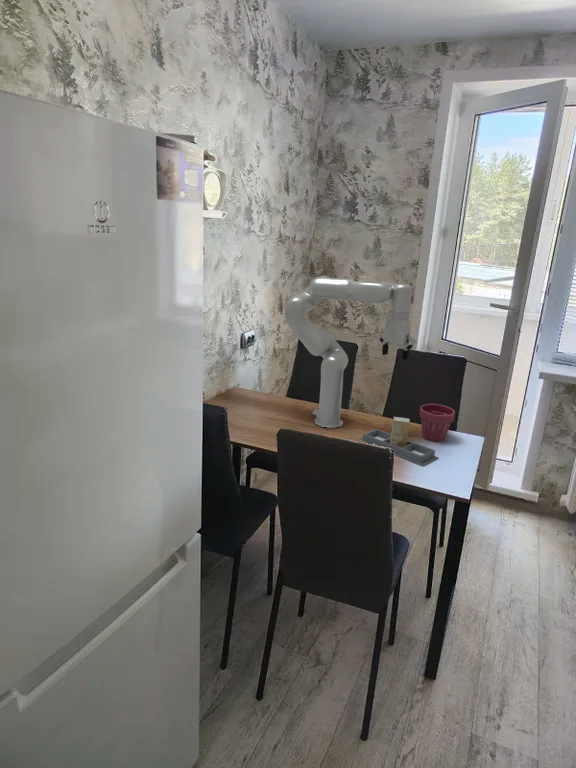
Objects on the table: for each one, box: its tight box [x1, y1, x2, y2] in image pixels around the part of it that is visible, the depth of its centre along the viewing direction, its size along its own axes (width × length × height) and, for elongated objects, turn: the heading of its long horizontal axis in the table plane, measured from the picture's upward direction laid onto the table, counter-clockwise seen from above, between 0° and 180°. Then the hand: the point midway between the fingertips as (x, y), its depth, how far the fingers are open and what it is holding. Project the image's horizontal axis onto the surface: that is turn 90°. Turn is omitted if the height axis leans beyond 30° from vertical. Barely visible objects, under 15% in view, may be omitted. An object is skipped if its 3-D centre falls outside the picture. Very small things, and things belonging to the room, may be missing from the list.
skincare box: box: [390, 416, 411, 448], centre depth 203 cm, size 6×4×12 cm
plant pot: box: [419, 403, 456, 443], centre depth 218 cm, size 14×14×13 cm
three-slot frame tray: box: [358, 428, 439, 467], centre depth 205 cm, size 30×11×3 cm, turn 45°
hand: (394, 357), depth 212 cm, fingers open, 9 cm apart
